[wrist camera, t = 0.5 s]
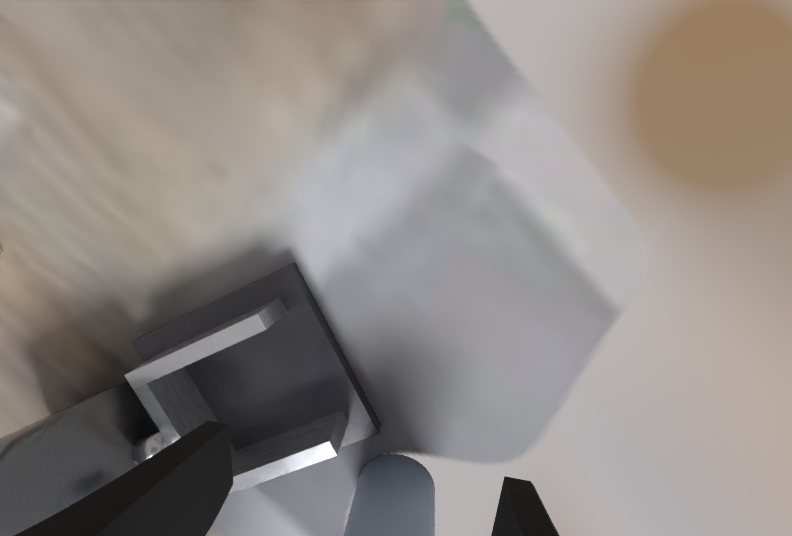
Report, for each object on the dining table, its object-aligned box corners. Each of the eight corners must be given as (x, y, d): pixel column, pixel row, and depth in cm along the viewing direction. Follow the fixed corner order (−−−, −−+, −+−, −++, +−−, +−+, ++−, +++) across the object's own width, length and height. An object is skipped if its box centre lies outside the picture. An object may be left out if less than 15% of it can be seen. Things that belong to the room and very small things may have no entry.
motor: (117, 522, 24) (-6, 653, 18) (26, 391, 23) (-146, 479, 16) (380, 424, 21) (354, 540, 14) (295, 262, 19) (219, 305, 13)
